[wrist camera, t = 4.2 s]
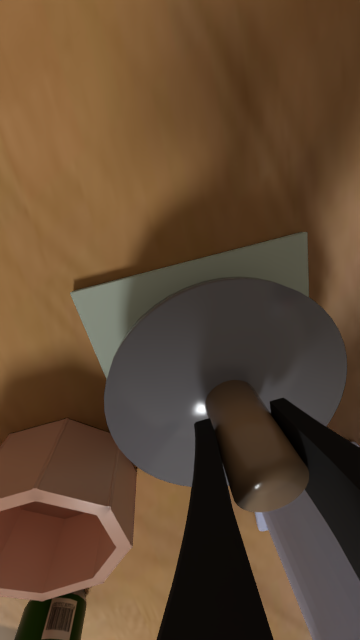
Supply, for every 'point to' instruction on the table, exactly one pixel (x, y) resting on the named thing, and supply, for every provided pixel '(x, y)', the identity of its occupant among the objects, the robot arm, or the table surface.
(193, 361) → the lid
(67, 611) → the beer can
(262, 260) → the mat
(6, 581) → the bowl
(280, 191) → the table surface
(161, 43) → the table surface
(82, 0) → the table surface
